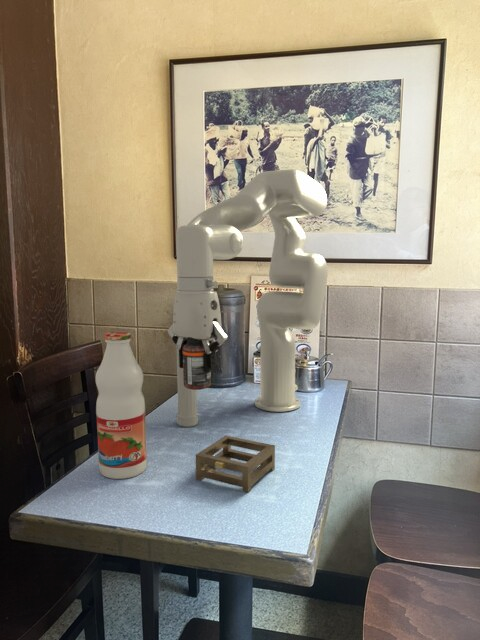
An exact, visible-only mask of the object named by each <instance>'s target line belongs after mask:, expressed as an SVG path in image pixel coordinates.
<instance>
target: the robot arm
mask: <svg viewBox="0 0 480 640" xmlns="http://www.w3.org/2000/svg"><path fill="white" fill-rule="evenodd" d="M327 198H328V197H327V193H326V190H325V189H324V187H323V186H322V184H320V183H319V182H318V181H317V180H315V179H313V178H312V177H311V176H309V175H308V174H306V173H304V172H302V171H300V170H297V169H290V168H289V169H280V170H269V171H267V170H266V171H262V172H260V173H258V174H256V176H254V177H253V178H252V179H251V180H250V181H249V182H248V183H247V184H246V185H245V186H244V187H243V188H242V189H241V190H240V191H239V192H237V194H236V195H234V196H233V197H230V198H228V199H225V200H224V201H222V202H219V203H218V204H217V203H216V204H215V205H213V206H211V207H209V208H207V209H205V210H203V211H202V212H200V213H198V214H197V215H196V216H195V217H193V219H191V220H190V221H189V223H187V225H180V226H178V228H177V229H176V233H175V237H176V238H175V241H176V242H175V243H176V245H175V246H176V272H177V273H176V276H177V277H176V278H177V279H176V280H177V291H175V295H174V301H173V306H174V307H173V316H172V321H173V322H172V323H171V326H170V327H168V329H167V334H168V335H169V337H171V339H172V342H173V343H174V344H175V348H176V350H177V349H178V350H179V367H180V368H183V347H184V346H185V345H186V343H187V338H188V337H192V338H194V339H197V340H202V342H203V345H204V348H205V351H206V353H205V354H204V355H203V362H204V372H210V371H211V372H212V371H215V370H216V352H218V350H219V349H220V348H221V346H222V345H223V344H224V343H225V342H226V341H227V340H228V335H227V334H226V333H225V332H224V330H223V326H222V324H223V323H222V314H221V306H220V301H219V297H218V292H217V291H214V288H216V287H217V286H218V282H217V280H214V260H217V261H218V260H219V261H220V260H222V261H223V260H231V259H234V258H236V257H237V256H239V254H240V253H241V252H242V249H243V246H244V239H243V238H244V237H243V234H242V233H241V231H244V230H245V231H246V230H248V229H250V228H253V227H255V226H257V225H259V224H260V222H262V220H263V219H265V218H266V216H267V215H268V217H269V219H270V221H271V224H272V228H273V230H274V242H273V247H272V253H271V259H270V265H269V272H268V277H269V282H270V283H271V284H272V285H273V286H275V287H278V288H284V289H285V288H286V289H299V290H300V289H301V290H302V289H303V290H302V291H303V292H293V291H282V290H281V291H278V290H276V291H275V290H274V291H267V292H264V293H263V294H262V295H261V296H260V297H259V298H258V300H257V302H256V315H257V320H258V325H259V331H260V332H259V336H260V338H259V339H260V340H259V341H260V355H259V356H260V365H259V366H260V387H259V388H260V390H259V391H260V394H259V395H260V396H258V397H256V399H255V400H254V405H255V407H256V408H258V409H260V410H263V411H265V412H266V411H268V412H277V413H278V412H279V413H281V412H291V411H295V410H297V409H299V408H300V407H301V400H300V399H299V398H298V397H296V391H297V390H298V389H299V387H298V385H297V384H296V340H295V338H294V337H295V336H294V335H293V333H292V331H291V330H290V329H298V330H313V329H315V328H316V327H318V326H319V323H320V321H321V317H322V313H323V307H324V302H325V301H324V300H325V294H326V289H327V282H328V277H329V276H328V273H329V270H328V264H327V263H328V262H327V261H326V259H325V258H324V257H323V255H320V254H318V253H313V252H311V253H309V252H305V248H306V242H307V241H306V240H307V238H306V234H305V231H304V230H303V228H302V226H301V225H300V224H299V222H298V221H297V219H296V218H316V217H317V218H318V217H319V216H320V215H322V214H323V213H324V212H325V210H326V207H327V205H328V199H327ZM215 338H216V339H215Z"/></svg>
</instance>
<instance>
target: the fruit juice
mask: <svg viewBox="0 0 480 640" xmlns="http://www.w3.org/2000/svg"><path fill="white" fill-rule="evenodd" d="M131 340H132V334H131V332H130V331H127V330H114V331H113V330H112V331H108V332H106V333H105V334H104V341H105V343H106V347H105V350H104V353H103V354H104V355H103V358H102V360H101V363H100V365H99V367H98V369H97V370H96V372H95V373H96V374H95V384H96V387H97V391H98V396H97V399H96V402H95V403H96V405H95V414H96V429H97V432H96V433H97V452H98V453H97V454H98V468H99V473H100V474H101V475H102V476H104V477H105V478H108V479H113V480H122V479H123V480H125V479H129V478H134V477H136V476H139V475H140V474H142V473H143V472H144V471H145V470H146V469H147V463H148V458H147V456H148V455H147V429H146V427H147V426H146V423H147V422H146V403H145V402H146V401H145V397H144V394H143V392H142V386H143V383H144V373H143V370H142V367H141V366H140V365H139V364H138V362H137V359H136V358H135V355H134V353H133V350H132V347H131V345H130V343H131Z"/></svg>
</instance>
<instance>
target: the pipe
mask: <svg viewBox="0 0 480 640" xmlns="http://www.w3.org/2000/svg"><path fill="white" fill-rule="evenodd" d="M171 306H172V307H173V308H174V304H171ZM176 376H177V377H176V379H177V381H176V382H177V412H176V419H177V420H176V421H177V422H176V423H177V424H178V426H180V427H184V428H186V427H188V428H189V427H194V426H196V425H198V423H199V415H200V413H199V412H198V403H197V402H198V398H197V397H198V393H197V392H198V390H192V389H188V388H186V387H185V386H184V382H183V368H180V367H179V350H178V349H177V348H176Z"/></svg>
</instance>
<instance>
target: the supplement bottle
mask: <svg viewBox="0 0 480 640" xmlns="http://www.w3.org/2000/svg"><path fill="white" fill-rule="evenodd" d="M205 353H206V351H205V348H204V345H203V342H202V340H197V339H194V338H192V337H188V338H187V343H186V345H185V346H184V347H183V382H184V386H185V387H186V388H188V389H192V390H197V391H198V390H204V389H208V388H209V387H211V384H212V371H210V372H204V362H203V355H204V354H205Z"/></svg>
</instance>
